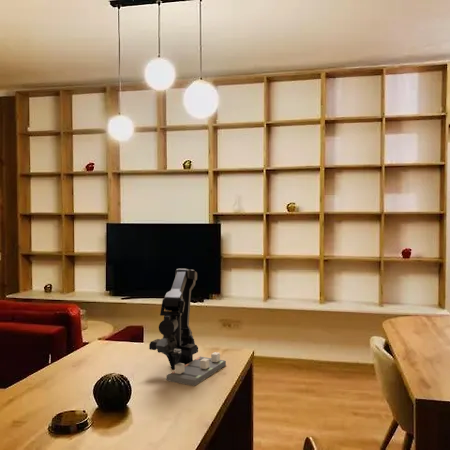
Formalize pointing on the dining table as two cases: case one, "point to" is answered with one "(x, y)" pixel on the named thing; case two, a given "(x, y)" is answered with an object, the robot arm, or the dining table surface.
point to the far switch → (215, 357)
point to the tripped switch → (179, 368)
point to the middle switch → (204, 363)
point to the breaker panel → (196, 372)
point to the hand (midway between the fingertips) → (173, 369)
